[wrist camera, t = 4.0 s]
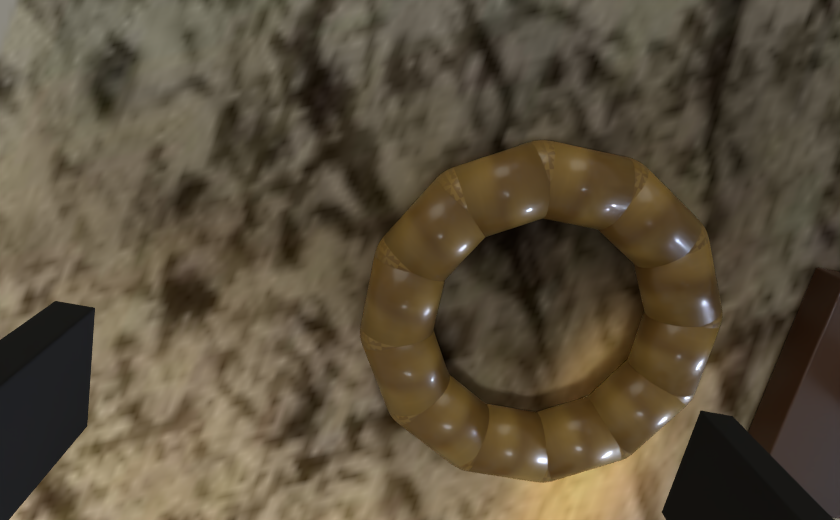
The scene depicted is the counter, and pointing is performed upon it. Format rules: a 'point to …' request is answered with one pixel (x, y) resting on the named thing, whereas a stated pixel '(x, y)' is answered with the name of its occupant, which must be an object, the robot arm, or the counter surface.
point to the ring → (508, 208)
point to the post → (808, 396)
